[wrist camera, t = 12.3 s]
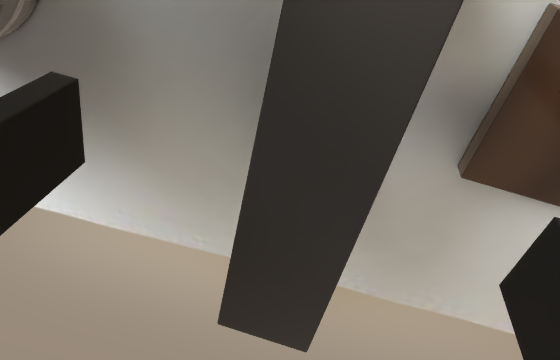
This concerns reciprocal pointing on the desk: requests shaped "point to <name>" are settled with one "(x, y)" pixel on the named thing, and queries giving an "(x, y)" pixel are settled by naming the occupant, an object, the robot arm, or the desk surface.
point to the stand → (524, 123)
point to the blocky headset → (324, 152)
